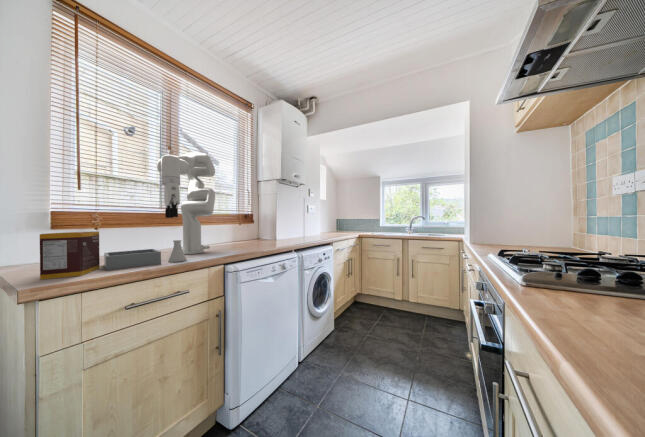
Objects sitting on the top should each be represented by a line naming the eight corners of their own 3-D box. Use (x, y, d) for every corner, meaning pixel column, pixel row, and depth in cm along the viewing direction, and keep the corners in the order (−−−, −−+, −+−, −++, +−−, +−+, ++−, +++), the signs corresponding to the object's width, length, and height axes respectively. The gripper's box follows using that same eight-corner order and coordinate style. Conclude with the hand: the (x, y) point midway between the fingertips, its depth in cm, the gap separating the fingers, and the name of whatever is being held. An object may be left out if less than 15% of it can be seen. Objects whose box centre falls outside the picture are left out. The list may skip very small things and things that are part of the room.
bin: (153, 259, 116) (153, 248, 116) (161, 263, 103) (160, 251, 103) (104, 265, 103) (104, 252, 103) (106, 270, 91) (106, 256, 91)
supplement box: (100, 268, 95) (99, 231, 96) (80, 276, 82) (80, 232, 82) (65, 271, 91) (65, 232, 91) (39, 279, 77) (38, 233, 77)
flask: (189, 259, 113) (189, 239, 113) (179, 262, 106) (178, 240, 106) (176, 260, 114) (175, 239, 114) (164, 262, 107) (164, 241, 107)
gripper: (184, 179, 106) (184, 216, 106) (176, 185, 119) (176, 218, 118) (165, 177, 101) (165, 216, 101) (158, 183, 114) (158, 218, 113)
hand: (171, 217), depth 110 cm, fingers open, 9 cm apart
